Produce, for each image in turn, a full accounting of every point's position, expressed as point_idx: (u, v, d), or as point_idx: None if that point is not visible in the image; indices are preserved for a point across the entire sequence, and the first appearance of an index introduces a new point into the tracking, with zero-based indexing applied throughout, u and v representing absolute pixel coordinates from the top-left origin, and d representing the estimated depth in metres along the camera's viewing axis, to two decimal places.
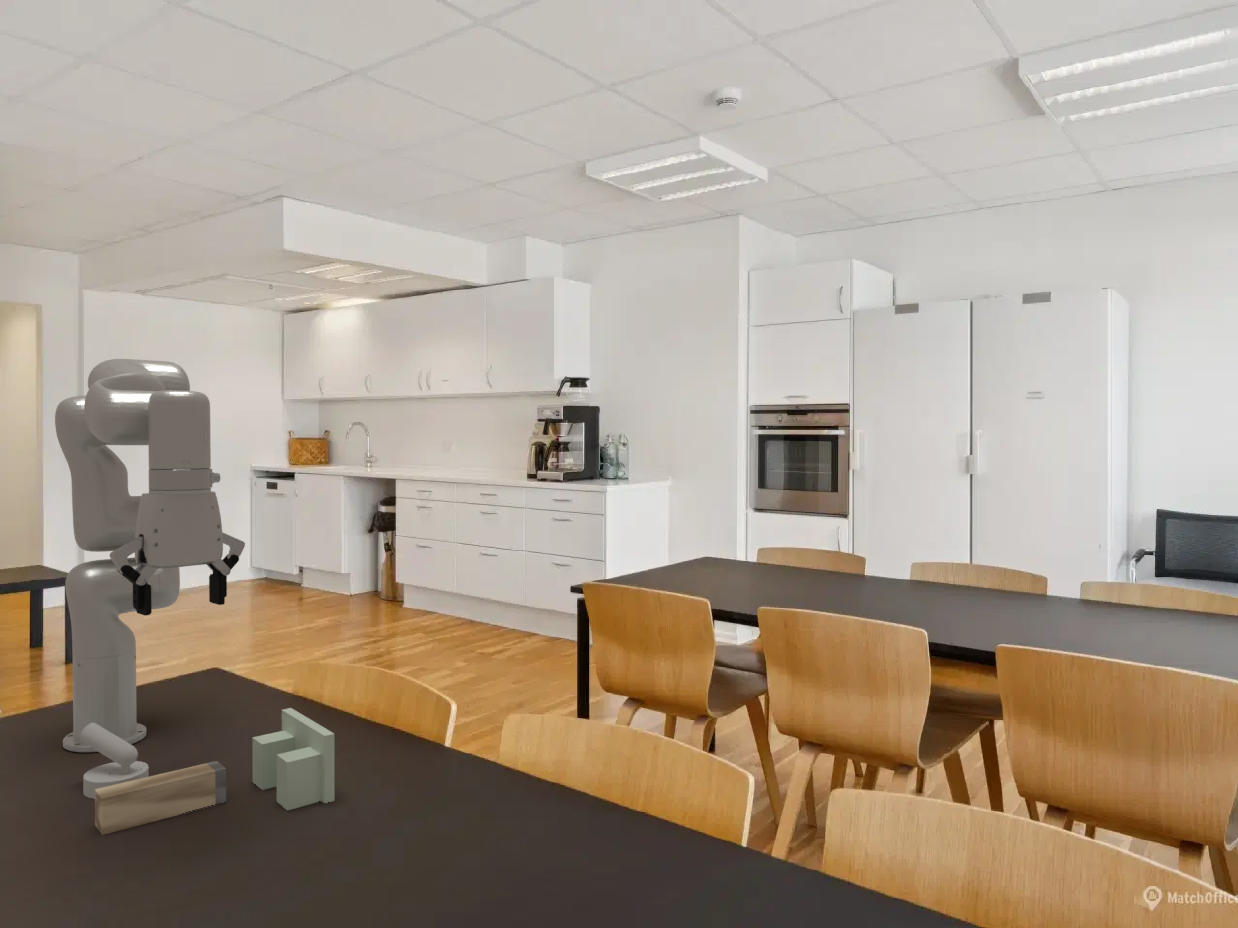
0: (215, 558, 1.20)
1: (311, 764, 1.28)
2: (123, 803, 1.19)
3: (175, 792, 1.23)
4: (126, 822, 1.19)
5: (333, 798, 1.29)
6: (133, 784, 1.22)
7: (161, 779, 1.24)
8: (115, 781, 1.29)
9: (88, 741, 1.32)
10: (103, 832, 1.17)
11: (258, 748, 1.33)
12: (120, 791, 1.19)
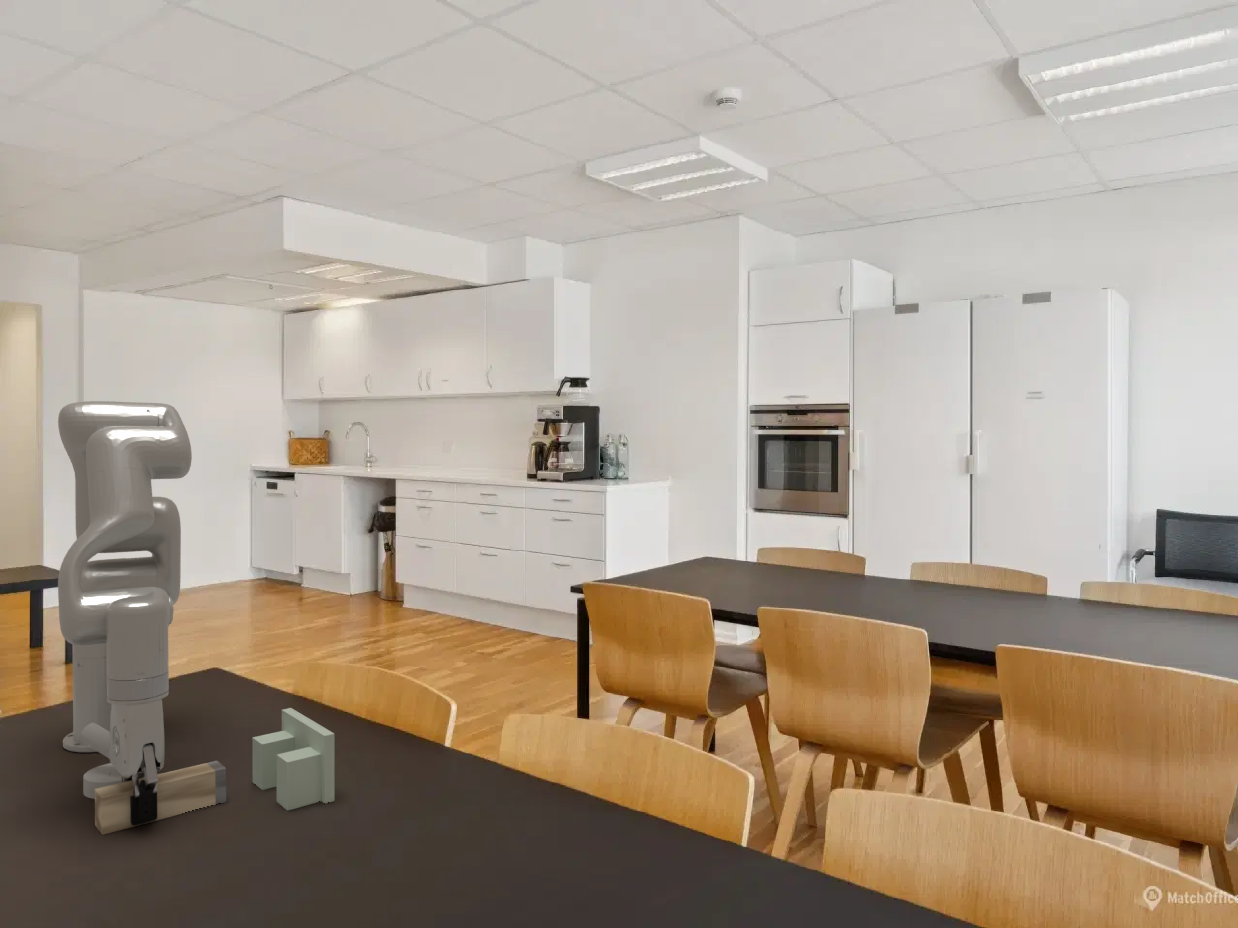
0: None
1: (311, 764, 1.28)
2: (123, 802, 1.19)
3: (175, 792, 1.23)
4: (126, 822, 1.19)
5: (333, 798, 1.29)
6: None
7: (161, 779, 1.24)
8: (115, 781, 1.29)
9: (88, 741, 1.32)
10: (103, 832, 1.17)
11: (258, 748, 1.33)
12: (120, 791, 1.19)
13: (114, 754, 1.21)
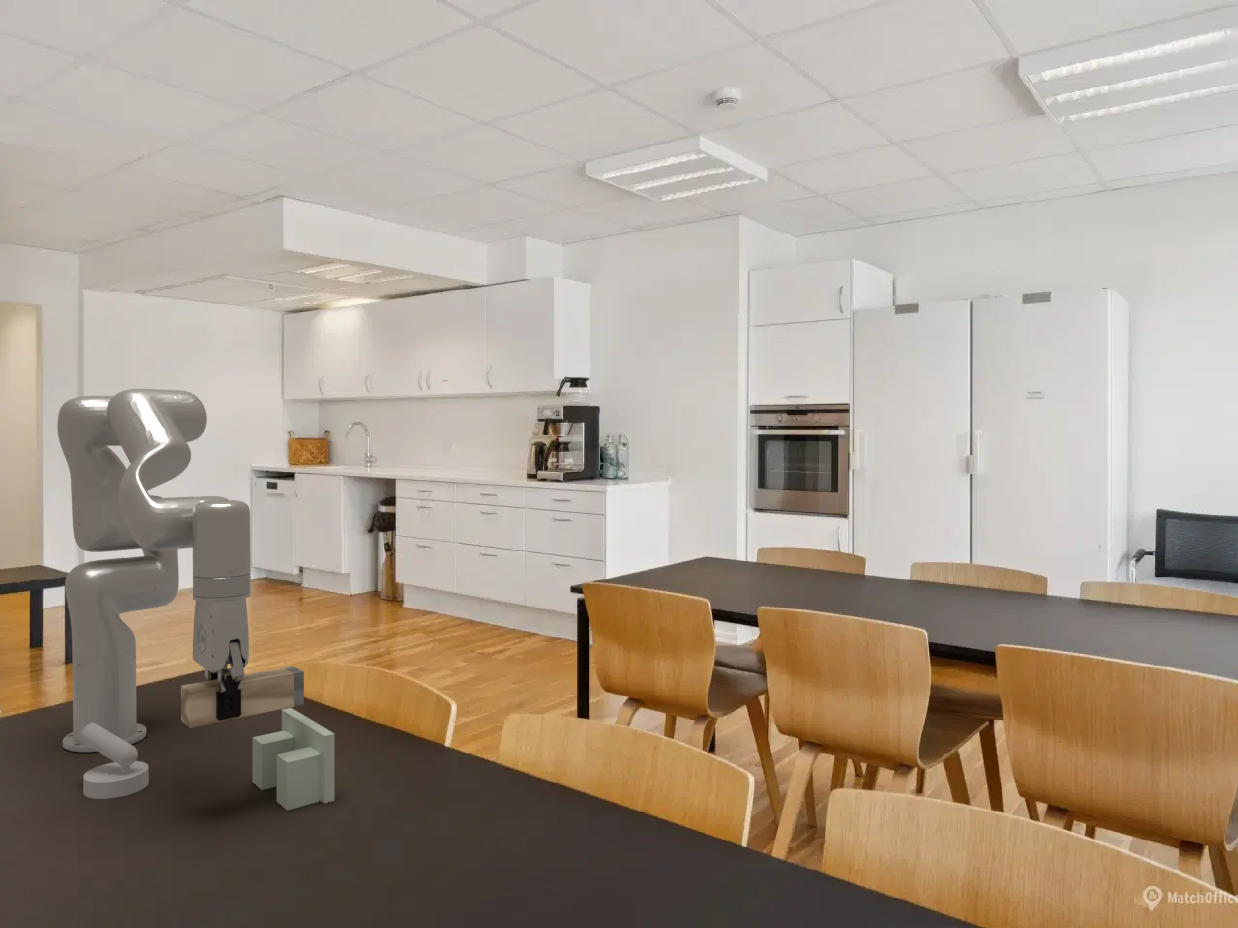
0: None
1: (311, 764, 1.28)
2: (209, 698, 1.22)
3: (257, 691, 1.27)
4: (212, 717, 1.23)
5: (333, 798, 1.29)
6: (217, 682, 1.25)
7: (243, 679, 1.27)
8: (115, 781, 1.29)
9: (88, 741, 1.32)
10: (191, 725, 1.21)
11: (258, 748, 1.33)
12: (206, 687, 1.23)
13: (199, 652, 1.24)
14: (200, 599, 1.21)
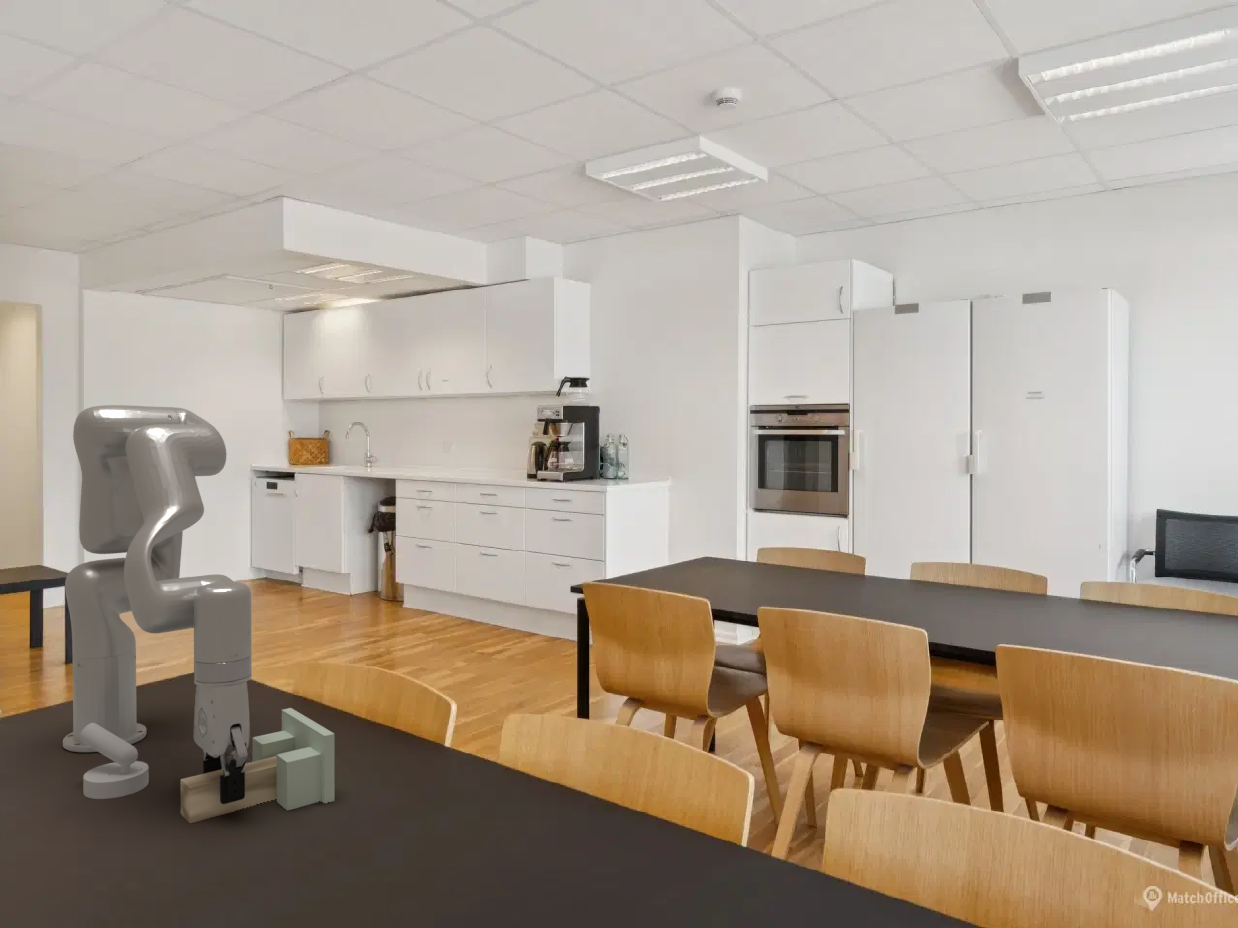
0: None
1: (311, 764, 1.28)
2: (209, 792, 1.23)
3: (256, 782, 1.27)
4: (212, 811, 1.23)
5: (333, 798, 1.29)
6: (217, 774, 1.25)
7: None
8: (115, 781, 1.29)
9: (88, 741, 1.32)
10: (191, 820, 1.21)
11: (258, 748, 1.33)
12: (206, 781, 1.23)
13: (200, 735, 1.24)
14: (201, 684, 1.22)
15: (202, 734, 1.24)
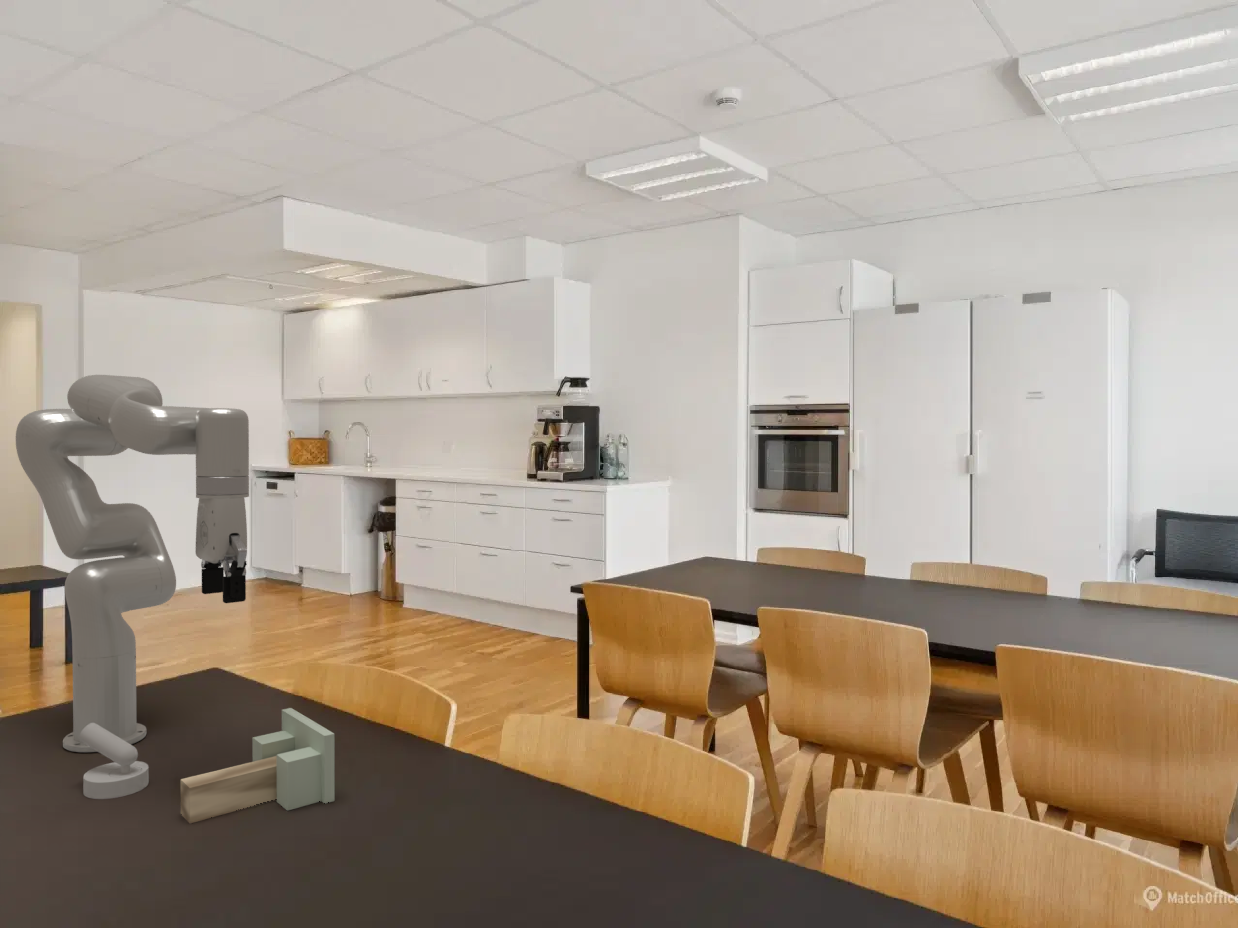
0: None
1: (311, 764, 1.28)
2: (209, 792, 1.23)
3: (256, 783, 1.27)
4: (212, 811, 1.23)
5: (333, 798, 1.29)
6: (217, 774, 1.25)
7: (242, 769, 1.27)
8: (115, 781, 1.29)
9: (88, 741, 1.32)
10: (191, 820, 1.21)
11: (258, 748, 1.33)
12: (206, 781, 1.23)
13: (202, 547, 1.35)
14: (202, 496, 1.33)
15: (203, 545, 1.34)
